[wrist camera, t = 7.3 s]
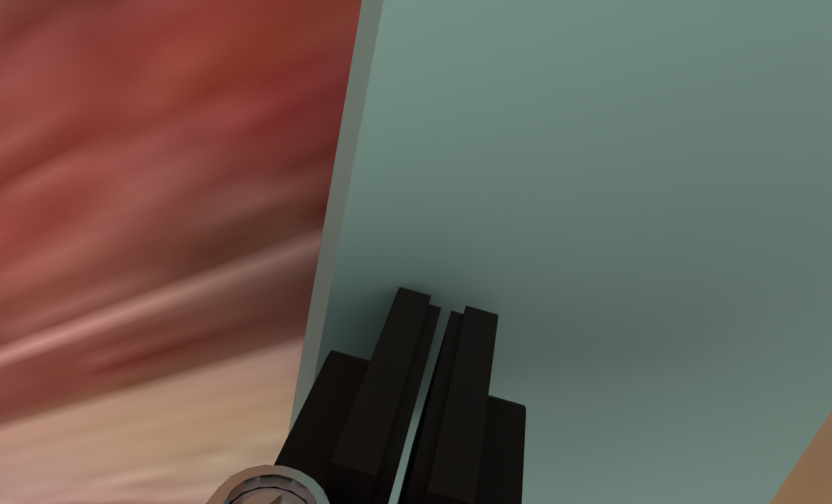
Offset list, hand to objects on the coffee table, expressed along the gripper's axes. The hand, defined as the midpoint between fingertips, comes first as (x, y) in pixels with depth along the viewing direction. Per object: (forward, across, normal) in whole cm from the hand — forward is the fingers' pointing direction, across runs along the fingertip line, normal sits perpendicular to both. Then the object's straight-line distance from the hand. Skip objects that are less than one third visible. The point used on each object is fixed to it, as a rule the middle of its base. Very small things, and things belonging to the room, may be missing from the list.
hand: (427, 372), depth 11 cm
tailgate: (+6, -9, 0) cm, 10 cm away
